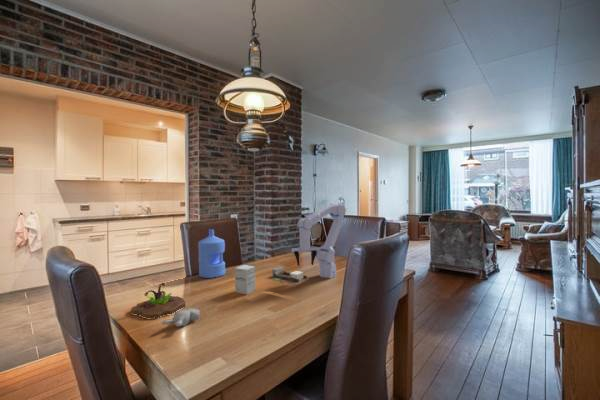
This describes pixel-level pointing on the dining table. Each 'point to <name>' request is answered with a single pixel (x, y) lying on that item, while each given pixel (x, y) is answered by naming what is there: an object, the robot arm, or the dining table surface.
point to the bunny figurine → (183, 317)
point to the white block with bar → (296, 275)
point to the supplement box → (245, 279)
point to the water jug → (211, 256)
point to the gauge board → (281, 274)
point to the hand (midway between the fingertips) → (305, 264)
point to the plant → (158, 304)
